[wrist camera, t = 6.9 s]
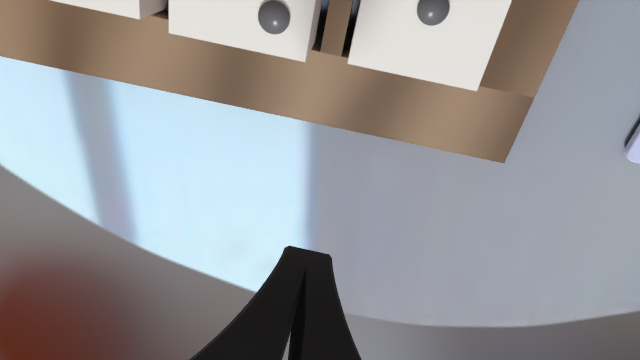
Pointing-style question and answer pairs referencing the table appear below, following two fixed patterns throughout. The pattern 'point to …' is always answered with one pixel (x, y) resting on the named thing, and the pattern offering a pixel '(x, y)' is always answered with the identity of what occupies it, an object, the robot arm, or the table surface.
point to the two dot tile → (250, 24)
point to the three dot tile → (122, 6)
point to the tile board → (303, 72)
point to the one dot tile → (428, 38)
